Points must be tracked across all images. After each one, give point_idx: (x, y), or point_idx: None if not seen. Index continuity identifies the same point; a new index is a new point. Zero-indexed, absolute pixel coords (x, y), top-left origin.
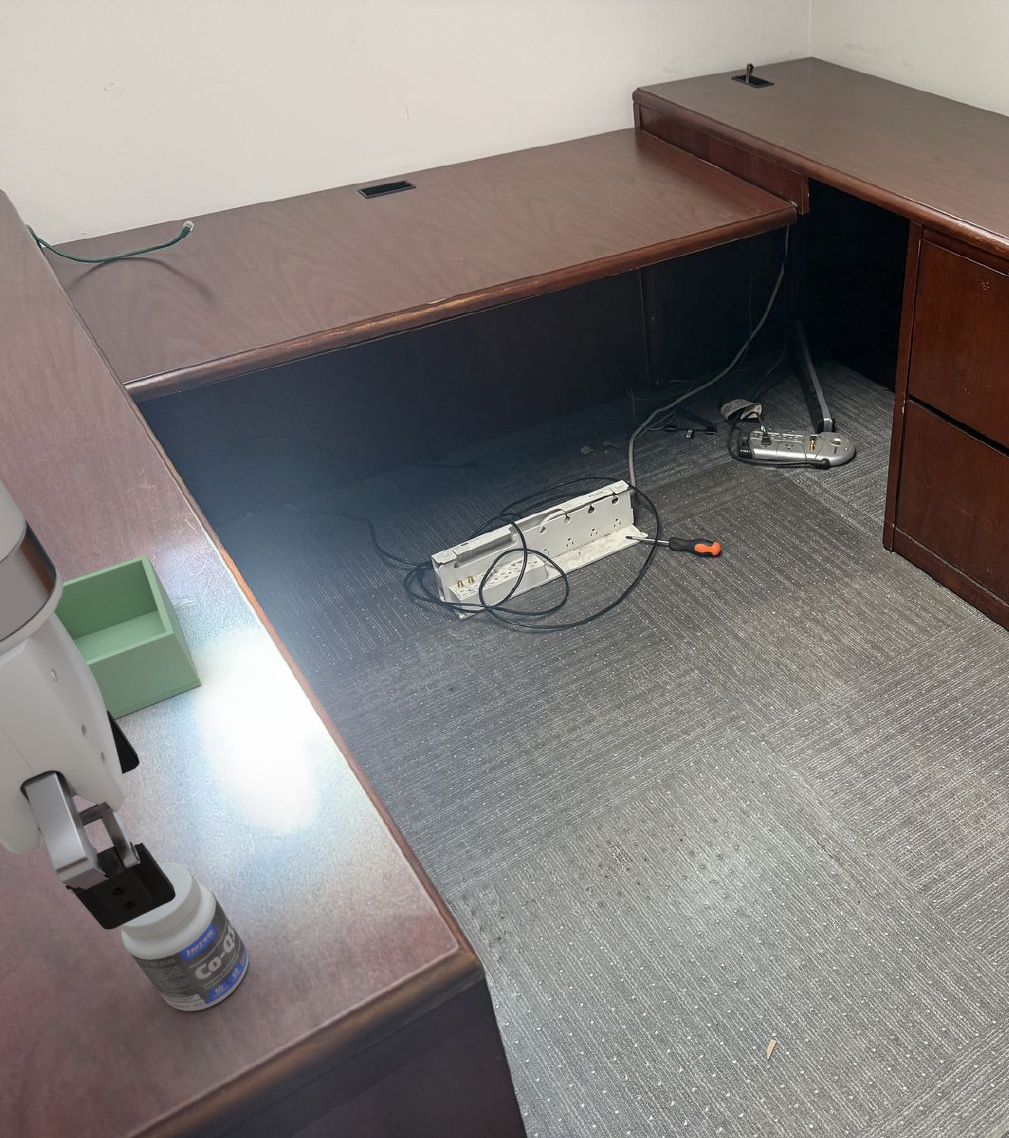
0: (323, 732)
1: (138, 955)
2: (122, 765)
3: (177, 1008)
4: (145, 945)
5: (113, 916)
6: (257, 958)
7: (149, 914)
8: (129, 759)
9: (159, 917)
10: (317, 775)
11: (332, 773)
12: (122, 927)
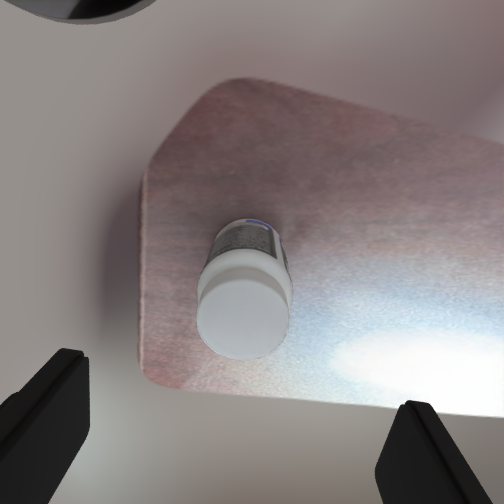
0: None
1: (217, 258)
2: (384, 478)
3: (228, 224)
4: (214, 272)
5: (2, 404)
6: None
7: (210, 312)
8: (383, 494)
9: (199, 318)
10: (373, 388)
11: (365, 396)
12: (226, 277)
